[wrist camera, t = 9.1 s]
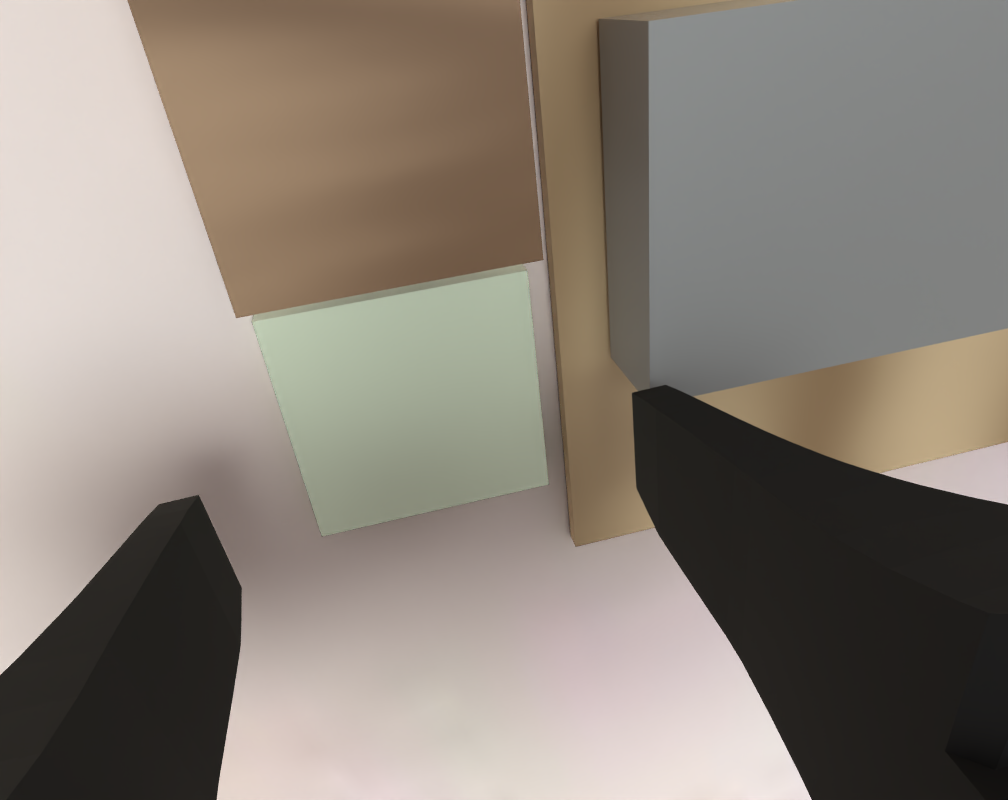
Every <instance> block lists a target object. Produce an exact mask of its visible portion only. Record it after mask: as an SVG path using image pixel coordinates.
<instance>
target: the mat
mask: <svg viewBox="0 0 1008 800" xmlns="http://www.w3.org/2000/svg"><path fill="white" fill-rule="evenodd" d="M723 1H731V0H526V4H527V16H528V28H529V40H530V52H531V64H532V76H533V88H534V100H535V112H536V124H537V136H538V148H539V160H540V172H541V184H542V196H543V208H544V220H545V232H546V244H547V256H548V268H549V280H550V292H551V304H552V316H553V328H554V340H555V352H556V364H557V376H558V388H559V400H560V412H561V424H562V436H563V448H564V460H565V472H566V484H567V496H568V508H569V520H570V532H571V537H572V540H573V542H574V544H575V546H576V547H577V546H581V545H585V544H589V543H593V542H597V541H601V540H606V539H610V538H614V537H618V536H622V535H626V534H630V533H634V532H639V531H643V530H647V529H651V528H655V526H654V524H653V522H652V520H651V518H650V516H649V514H648V512H647V510H646V508H645V506H644V503H643V501H642V499H641V497H640V495H639V493H638V491H637V488H636V473H635V452H634V431H633V409H632V393H633V392H637V389H636V388H635V387H634V386H633V384H632V383H631V382H630V381H629V379H628V378H627V377H626V376H625V374H624V373H623V372H622V371H621V369H620V368H619V367H618V366H617V364H616V363H615V362H614V361H613V360H612V358H611V353H610V325H609V297H608V269H607V241H606V212H605V184H604V156H603V128H602V100H601V72H600V44H599V19H600V18H607V17H615V16H622V15H629V14H636V13H644V12H651V11H658V10H665V9H673V8H680V7H687V6H694V5H702V4H709V3H716V2H723ZM693 397H695V398H697V399H699V400H701V401H703V402H705V403H707V404H709V405H711V406H713V407H715V408H717V409H719V410H722V411H724V412H726V413H728V414H730V415H732V416H734V417H736V418H738V419H740V420H743V421H745V422H747V423H749V424H751V425H753V426H756V427H758V428H760V429H762V430H764V431H767V432H769V433H771V434H774V435H776V436H778V437H781V438H783V439H785V440H788V441H790V442H792V443H795V444H798V445H800V446H803V447H805V448H808V449H810V450H813V451H815V452H818V453H820V454H823V455H825V456H828V457H831V458H834V459H836V460H839V461H842V462H845V463H848V464H851V465H854V466H857V467H860V468H864V469H867V470H870V471H873V472H876V473H882V472H886V471H890V470H894V469H898V468H902V467H906V466H910V465H914V464H919V463H923V462H927V461H931V460H935V459H939V458H943V457H947V456H952V455H956V454H960V453H964V452H968V451H972V450H976V449H980V448H984V447H989V446H993V445H997V444H1001V443H1005V442H1008V328H1007V329H1002V330H998V331H993V332H989V333H984V334H979V335H975V336H970V337H966V338H961V339H956V340H952V341H947V342H942V343H938V344H933V345H929V346H924V347H919V348H915V349H910V350H905V351H901V352H896V353H892V354H887V355H882V356H878V357H873V358H869V359H864V360H859V361H855V362H850V363H845V364H841V365H836V366H832V367H827V368H822V369H818V370H813V371H809V372H804V373H799V374H795V375H790V376H785V377H781V378H776V379H772V380H767V381H762V382H758V383H753V384H748V385H744V386H739V387H735V388H730V389H725V390H721V391H716V392H712V393H707V394H702V395H698V396H693Z"/></svg>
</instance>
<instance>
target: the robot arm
mask: <svg viewBox="0 0 1008 800" xmlns="http://www.w3.org/2000/svg"><path fill="white" fill-rule="evenodd" d="M632 409H633V431H634V452H635V473H636V488H637V491H638V493H639V495H640V497H641V499H642V501H643V503H644V506H645V508H646V510H647V512H648V514H649V516H650V518H651V520H652V522H653V524H654V526H655V528H656V530H657V532H658V534H659V536H660V537H661V539H662V540H663V542H664V544H665V545H666V547H667V548H668V550H669V551H670V553H671V554H672V556H673V557H674V559H675V560H676V562H677V563H678V565H679V566H680V568H681V569H682V571H683V572H684V574H685V575H686V577H687V578H688V580H689V581H690V583H691V584H692V586H693V587H694V589H695V590H696V592H697V593H698V595H699V596H700V598H701V599H702V601H703V602H704V604H705V605H706V607H707V608H708V610H709V611H710V613H711V614H712V616H713V617H714V619H715V620H716V622H717V623H718V625H719V626H720V628H721V629H722V631H723V632H724V634H725V635H726V636H727V638H728V640H729V641H730V643H731V645H732V646H733V648H734V650H735V651H736V653H737V654H738V656H739V658H740V659H741V661H742V663H743V665H744V667H745V669H746V670H747V672H748V674H749V676H750V678H751V680H752V682H753V684H754V686H755V687H756V689H757V691H758V693H759V695H760V697H761V699H762V701H763V703H764V704H765V706H766V708H767V710H768V712H769V714H770V716H771V718H772V720H773V722H774V724H775V726H776V728H777V730H778V732H779V734H780V736H781V738H782V740H783V742H784V744H785V746H786V748H787V750H788V752H789V754H790V756H791V758H792V760H793V762H794V764H795V766H796V768H797V770H798V772H799V774H800V776H801V778H802V780H803V782H804V784H805V786H806V788H807V790H808V792H809V795H810V797H811V799H812V800H1008V505H1007V504H1002V503H997V502H992V501H987V500H982V499H977V498H972V497H968V496H963V495H959V494H955V493H951V492H947V491H943V490H938V489H934V488H930V487H926V486H922V485H918V484H914V483H910V482H907V481H903V480H899V479H896V478H892V477H889V476H886V475H883V474H879V473H876V472H873V471H870V470H867V469H864V468H860V467H857V466H854V465H851V464H848V463H845V462H842V461H839V460H836V459H834V458H831V457H828V456H825V455H823V454H820V453H818V452H815V451H813V450H810V449H808V448H805V447H803V446H800V445H798V444H795V443H792V442H790V441H788V440H785V439H783V438H781V437H778V436H776V435H774V434H771V433H769V432H767V431H764V430H762V429H760V428H758V427H756V426H753V425H751V424H749V423H747V422H745V421H743V420H740V419H738V418H736V417H734V416H732V415H730V414H728V413H726V412H724V411H722V410H719V409H717V408H715V407H713V406H711V405H709V404H707V403H705V402H703V401H701V400H699V399H697V398H695V397H692V396H690V395H688V394H686V393H684V392H682V391H680V390H677V389H675V388H673V387H670V386H668V385H662V386H658V387H654V388H650V389H645V390H641V391H637V392H633V393H632ZM241 592H242V588H241V586H240V583H239V581H238V579H237V577H236V575H235V573H234V570H233V568H232V566H231V564H230V562H229V560H228V557H227V555H226V553H225V551H224V549H223V547H222V544H221V542H220V540H219V538H218V536H217V534H216V531H215V529H214V527H213V525H212V523H211V521H210V518H209V516H208V514H207V512H206V510H205V508H204V505H203V503H202V501H201V499H200V497H199V495H197V496H192V497H188V498H184V499H180V500H176V501H171V502H167V503H163V504H159V505H158V506H157V507H156V508H155V509H154V510H153V511H152V512H151V513H150V514H149V515H148V516H147V517H146V518H145V520H144V521H143V522H142V523H141V524H140V525H139V526H138V527H137V529H136V530H135V531H134V532H133V533H132V534H131V535H130V537H129V538H128V539H127V540H126V541H125V542H124V543H123V545H122V546H121V547H120V548H119V549H118V550H117V552H116V553H115V554H114V555H113V556H112V557H111V558H110V560H109V561H108V562H107V563H106V564H105V565H104V566H103V567H102V569H101V570H100V571H99V572H98V573H97V574H96V575H95V577H94V578H93V579H92V580H91V581H90V582H89V583H88V584H87V586H86V587H85V588H84V589H83V590H82V591H81V592H80V594H79V595H78V596H77V597H76V598H75V599H74V600H73V601H72V602H71V603H70V604H69V605H68V607H67V608H66V609H65V610H64V611H63V612H62V613H61V614H60V615H59V616H58V617H57V618H56V619H55V620H54V621H53V622H52V623H51V624H50V625H49V626H48V627H47V628H46V630H45V631H44V632H43V633H42V634H41V635H40V636H39V637H38V638H37V639H36V640H35V641H34V642H33V643H32V644H31V645H30V646H29V647H28V648H27V649H26V650H25V651H24V652H23V654H22V655H21V656H20V657H19V658H18V659H16V660H15V661H14V662H13V663H12V664H11V665H10V666H9V667H8V668H7V669H6V670H5V671H4V672H3V673H2V674H1V675H0V800H217V791H218V783H219V777H220V770H221V764H222V758H223V752H224V746H225V740H226V734H227V728H228V722H229V716H230V710H231V704H232V698H233V691H234V685H235V679H236V672H237V666H238V659H239V652H240V645H241Z"/></svg>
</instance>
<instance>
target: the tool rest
mask: <svg viewBox="0 0 1008 800" xmlns="http://www.w3.org/2000/svg"><path fill="white" fill-rule="evenodd" d="M252 324H253V327H254V330H255V333H256V336H257V339H258V342H259V345H260V349H261V352H262V355H263V358H264V361H265V364H266V367H267V370H268V373H269V376H270V379H271V382H272V385H273V388H274V392H275V395H276V398H277V401H278V404H279V407H280V410H281V413H282V416H283V419H284V422H285V425H286V428H287V431H288V435H289V438H290V441H291V444H292V447H293V450H294V453H295V456H296V459H297V462H298V465H299V468H300V471H301V474H302V478H303V481H304V484H305V487H306V490H307V493H308V496H309V499H310V502H311V505H312V508H313V511H314V514H315V517H316V521H317V524H318V527H319V530H320V533H321V536H322V537H323V536H327V535H331V534H336V533H340V532H344V531H349V530H353V529H357V528H362V527H366V526H371V525H375V524H379V523H384V522H388V521H392V520H397V519H401V518H405V517H410V516H414V515H418V514H423V513H427V512H432V511H436V510H440V509H445V508H449V507H453V506H458V505H462V504H466V503H471V502H475V501H479V500H484V499H488V498H493V497H497V496H501V495H506V494H510V493H514V492H519V491H523V490H527V489H532V488H536V487H540V486H545V485H549V481H548V471H547V461H546V451H545V441H544V431H543V421H542V411H541V401H540V391H539V381H538V371H537V361H536V351H535V341H534V331H533V321H532V311H531V301H530V291H529V281H528V271H527V269H526V268H525V266H524V265H523V264H519V265H514V266H509V267H503V268H498V269H493V270H487V271H482V272H477V273H472V274H466V275H461V276H456V277H450V278H445V279H440V280H435V281H429V282H424V283H419V284H414V285H408V286H403V287H398V288H392V289H387V290H382V291H377V292H371V293H366V294H361V295H355V296H350V297H345V298H340V299H334V300H329V301H324V302H319V303H313V304H308V305H303V306H297V307H292V308H287V309H282V310H276V311H271V312H266V313H260V314H255V315H253V319H252Z"/></svg>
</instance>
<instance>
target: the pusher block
mask: <svg viewBox="0 0 1008 800" xmlns="http://www.w3.org/2000/svg"><path fill="white" fill-rule="evenodd" d="M128 3H129V6H130V9H131V12H132V15H133V18H134V21H135V24H136V27H137V30H138V33H139V35H140V38H141V41H142V44H143V47H144V50H145V53H146V56H147V59H148V62H149V65H150V68H151V70H152V73H153V76H154V79H155V82H156V85H157V88H158V91H159V94H160V97H161V100H162V103H163V106H164V108H165V111H166V114H167V117H168V120H169V123H170V126H171V129H172V132H173V135H174V138H175V141H176V143H177V146H178V149H179V152H180V155H181V158H182V161H183V164H184V167H185V170H186V173H187V176H188V179H189V181H190V184H191V187H192V190H193V193H194V196H195V199H196V202H197V205H198V208H199V211H200V214H201V216H202V219H203V222H204V225H205V228H206V231H207V234H208V237H209V240H210V243H211V246H212V249H213V252H214V254H215V257H216V260H217V263H218V266H219V269H220V272H221V275H222V278H223V281H224V284H225V287H226V289H227V292H228V295H229V298H230V301H231V304H232V307H233V310H234V313H235V316H236V318H239V317H245V316H250V315H255V314H260V313H266V312H271V311H276V310H282V309H287V308H292V307H297V306H303V305H308V304H313V303H319V302H324V301H329V300H334V299H340V298H345V297H350V296H355V295H361V294H366V293H371V292H377V291H382V290H387V289H392V288H398V287H403V286H408V285H414V284H419V283H424V282H429V281H435V280H440V279H445V278H450V277H456V276H461V275H466V274H472V273H477V272H482V271H487V270H493V269H498V268H503V267H509V266H514V265H519V264H524V263H530V262H535V261H540V260H543V250H542V239H541V228H540V217H539V206H538V195H537V184H536V173H535V162H534V151H533V140H532V129H531V118H530V107H529V96H528V85H527V74H526V63H525V52H524V41H523V30H522V19H521V8H520V0H128Z"/></svg>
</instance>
